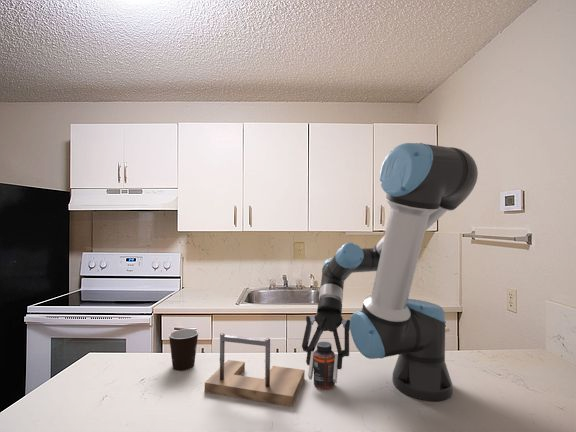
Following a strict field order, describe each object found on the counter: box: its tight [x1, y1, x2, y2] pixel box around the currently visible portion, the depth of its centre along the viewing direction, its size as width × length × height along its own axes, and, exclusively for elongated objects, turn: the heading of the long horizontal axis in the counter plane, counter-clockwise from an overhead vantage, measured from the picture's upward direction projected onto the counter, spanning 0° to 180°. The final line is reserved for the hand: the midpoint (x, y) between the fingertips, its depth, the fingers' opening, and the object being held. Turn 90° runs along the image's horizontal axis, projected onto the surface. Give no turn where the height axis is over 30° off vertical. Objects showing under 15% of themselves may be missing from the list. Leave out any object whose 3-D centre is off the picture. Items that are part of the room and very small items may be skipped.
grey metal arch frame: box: [219, 333, 271, 387], centre depth 83 cm, size 14×1×12 cm, turn 75°
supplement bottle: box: [313, 341, 336, 391], centre depth 86 cm, size 6×6×11 cm
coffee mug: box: [168, 328, 199, 372], centre depth 98 cm, size 12×9×10 cm
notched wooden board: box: [204, 359, 305, 408], centre depth 86 cm, size 24×14×2 cm, turn 75°
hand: (322, 379), depth 82 cm, fingers closed on supplement bottle, 6 cm apart
